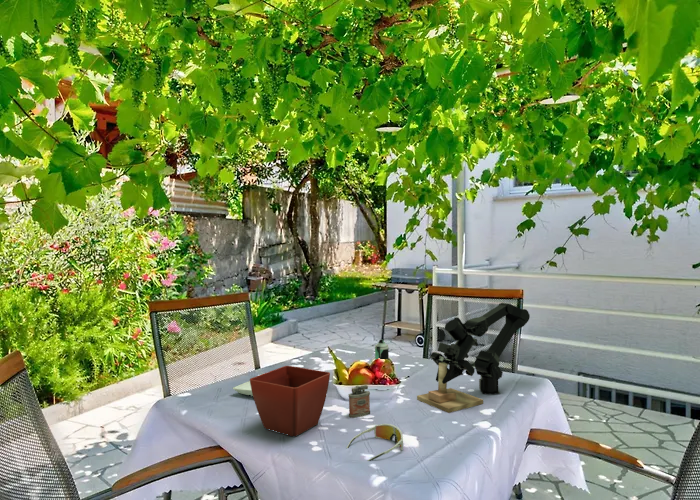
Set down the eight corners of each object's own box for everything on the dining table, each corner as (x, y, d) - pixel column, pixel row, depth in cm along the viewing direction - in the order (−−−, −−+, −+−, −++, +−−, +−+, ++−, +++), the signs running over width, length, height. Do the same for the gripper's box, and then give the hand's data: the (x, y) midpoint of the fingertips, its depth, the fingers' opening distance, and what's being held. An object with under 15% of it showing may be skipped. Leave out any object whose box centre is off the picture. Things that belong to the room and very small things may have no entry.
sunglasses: (413, 449, 139) (411, 432, 138) (373, 471, 130) (370, 454, 129) (381, 434, 150) (380, 418, 150) (342, 453, 141) (340, 437, 141)
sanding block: (444, 395, 181) (445, 360, 181) (456, 399, 176) (456, 364, 176) (428, 398, 177) (429, 362, 177) (439, 402, 172) (440, 366, 172)
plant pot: (296, 444, 143) (295, 387, 143) (248, 431, 153) (247, 378, 153) (332, 423, 160) (331, 372, 159) (287, 412, 170) (286, 365, 169)
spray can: (388, 390, 193) (387, 340, 193) (374, 390, 194) (373, 340, 194) (389, 386, 198) (389, 338, 198) (376, 386, 199) (375, 337, 199)
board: (450, 391, 190) (450, 387, 190) (483, 403, 176) (483, 399, 176) (417, 399, 181) (417, 395, 181) (448, 413, 167) (448, 408, 167)
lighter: (351, 418, 163) (351, 389, 163) (347, 415, 166) (346, 386, 166) (372, 414, 167) (371, 385, 167) (367, 411, 170) (366, 383, 170)
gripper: (433, 330, 187) (411, 363, 181) (468, 338, 171) (445, 374, 165) (448, 348, 191) (427, 381, 185) (484, 358, 175) (462, 393, 169)
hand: (439, 382), depth 176 cm, fingers closed on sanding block, 3 cm apart
